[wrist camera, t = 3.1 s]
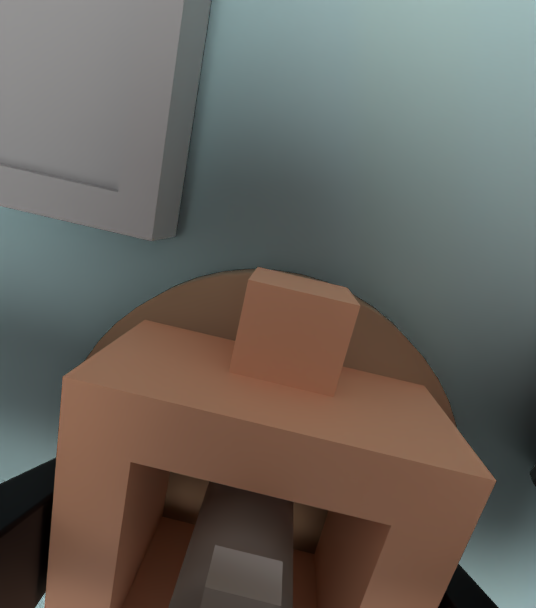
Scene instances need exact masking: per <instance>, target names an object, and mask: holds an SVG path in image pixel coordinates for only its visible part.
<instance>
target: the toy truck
mask: <svg viewBox="0 0 536 608" xmlns="http://www.w3.org/2000/svg"><path fill="white" fill-rule="evenodd" d="M530 476H531V479H532V481H533V483H534V484H535V486H536V465H535V466H534V467H533V468H532V469H531V471H530Z"/></svg>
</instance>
